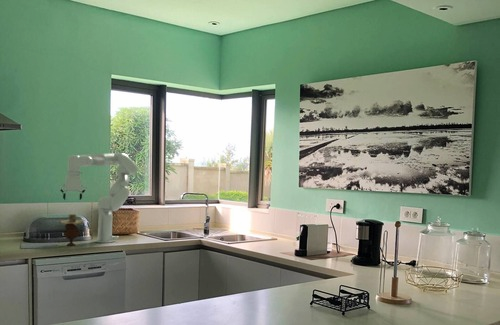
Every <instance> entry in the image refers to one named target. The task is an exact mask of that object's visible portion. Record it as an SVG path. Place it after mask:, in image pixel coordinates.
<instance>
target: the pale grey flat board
mask: <svg viewBox="0 0 500 325" xmlns="http://www.w3.org/2000/svg"><path fill="white" fill-rule="evenodd" d="M59 248H60V247H59V243H58V242H34V243H33V242H30V243H29V242H27V243H25V242H22V243H21V244H20V249H21V250H22V249H25V250H26V249H27V250H28V249H59Z"/></svg>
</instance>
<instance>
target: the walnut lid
mask: <svg viewBox="0 0 500 325" xmlns="http://www.w3.org/2000/svg"><path fill="white" fill-rule="evenodd" d="M60 224H61V225H66V224H74V225H85V222H84V221H83V220H78V219H77V214H76V213H75V214H74V213H72V214H71V213H69V214H68V219H67V220H66V219H65V220H62V219H61V220H60Z"/></svg>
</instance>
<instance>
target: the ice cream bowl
mask: <svg viewBox="0 0 500 325" xmlns="http://www.w3.org/2000/svg"><path fill="white" fill-rule="evenodd" d="M64 228H65V230H63V231H62V233H63V236H64V237H65V238H66V239H68V240H69V243H67V244H66V246H67V247H75V246H76V244H75V243H74V242H73V241H74V240H75V239H76V238H78V237H79V236H80V233H81V230H79V227H78V226H77V225H76V224H65V226H64Z"/></svg>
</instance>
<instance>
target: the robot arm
mask: <svg viewBox="0 0 500 325" xmlns="http://www.w3.org/2000/svg"><path fill="white" fill-rule="evenodd" d="M115 165H117V175H118V176H117V179H116V180H115V182H114V183H113V184H112V186H111V187H110V188H109V190H108V191H107V192H108V193H107V194H108V196H102V197H100V198H99V199H98V202H97V208H98V222H97V223H98V225H97V239H94V241H95V242H96V243H103V244H105V243H108V244H109V243H114V241H115V240H119V235H113V219H114V218H113V216H114V215H113V212H116V211H118V210H119V209H120V208H122V206H123V204H124V203H126V201H127V199H128V198H129V195H130V189H129V188H128V185H129V182H130V180H129V179H130V178H129V176H134V175H136V174H137V172H138V165H137V164H136V163H135V162H134V161H133V160H132V159H131V158H130V157H129V156H128V155H127V154H126V153H123V152H107V153H106V152H105V153H104V152H103V153H95V154H94V153H93V154H78V155H77V154H76V155H75V154H71V155H70V154H69V155H68V157H67V175H66V176H65V180H64V184H62V185H60V186H58V188H59V191H60V192H61V193H62V194H63V195H62V199H63V200H64V201H65V200H66V192H78V193H79V201H81V200H82V199H83V194H84V193H85V192H86V190H87V186H85V185H83V184H82V178H81V176H80V175H82V174H83V172H81V171H80V170H81V168H80V167H84V168H85V167H90V166H95V167H96V166H98V167H101V166H104V167H105V166H115ZM63 188H64V190H63ZM82 188H83V190H82Z"/></svg>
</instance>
